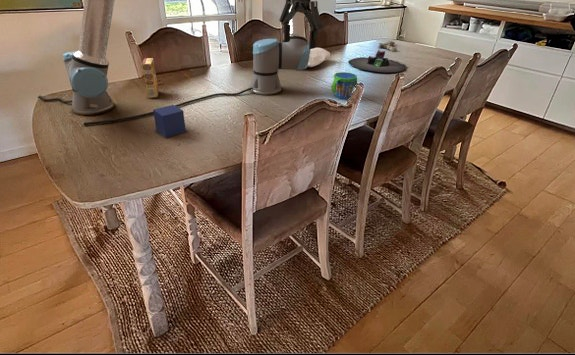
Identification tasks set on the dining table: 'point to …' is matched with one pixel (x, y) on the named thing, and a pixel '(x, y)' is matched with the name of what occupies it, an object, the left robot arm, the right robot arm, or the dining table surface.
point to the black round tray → (377, 63)
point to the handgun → (388, 45)
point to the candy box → (150, 77)
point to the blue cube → (169, 120)
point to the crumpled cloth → (317, 56)
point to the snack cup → (343, 84)
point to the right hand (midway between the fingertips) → (299, 45)
